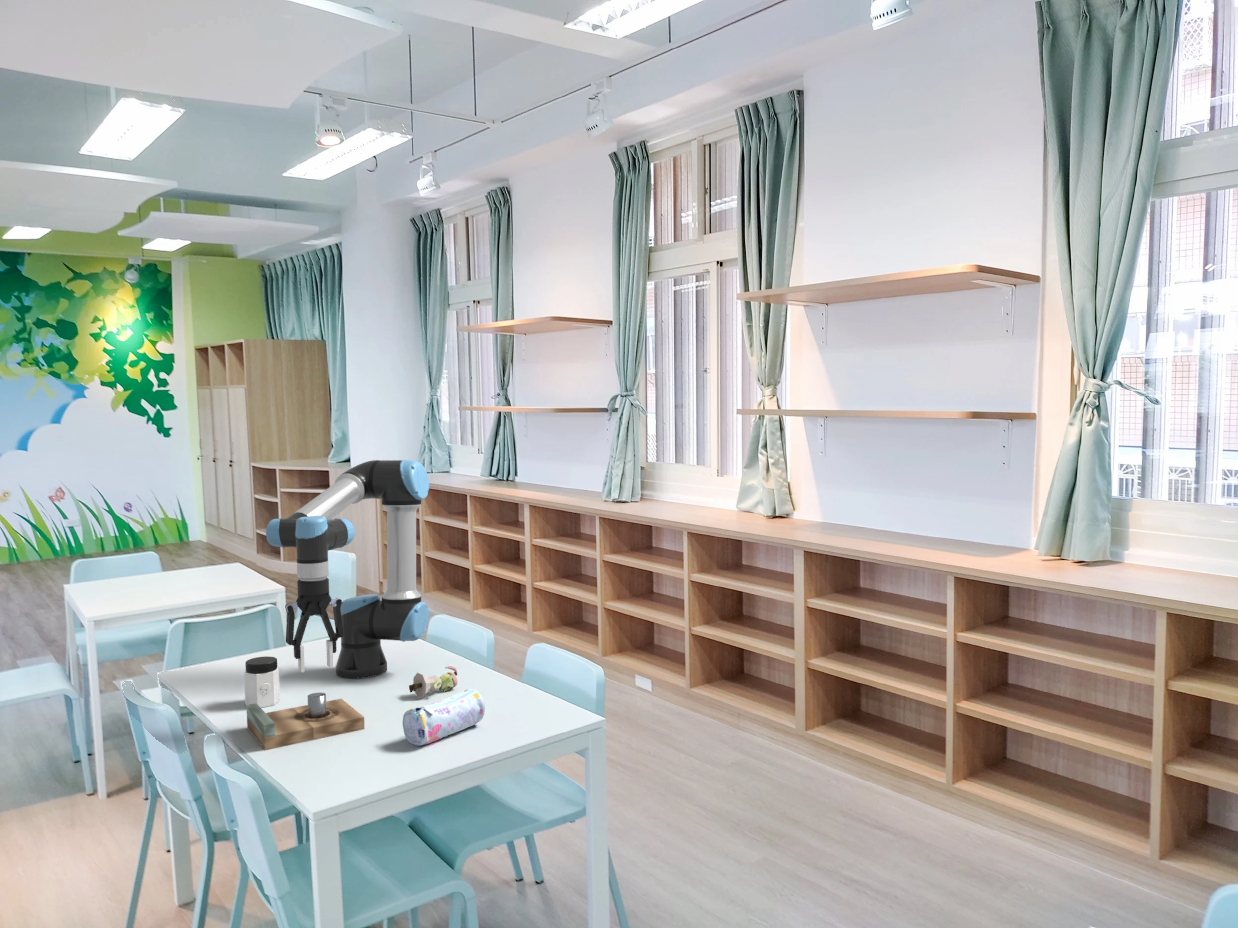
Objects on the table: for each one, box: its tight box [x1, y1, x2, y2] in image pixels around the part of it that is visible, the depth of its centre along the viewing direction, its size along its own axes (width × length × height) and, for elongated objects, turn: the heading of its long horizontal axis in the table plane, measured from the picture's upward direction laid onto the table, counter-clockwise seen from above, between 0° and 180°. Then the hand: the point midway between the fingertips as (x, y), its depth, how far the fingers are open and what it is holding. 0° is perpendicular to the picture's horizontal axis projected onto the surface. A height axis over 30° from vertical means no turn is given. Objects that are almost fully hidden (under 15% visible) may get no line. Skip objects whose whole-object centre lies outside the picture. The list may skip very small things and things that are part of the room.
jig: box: [246, 698, 365, 751], centre depth 230 cm, size 24×18×6 cm
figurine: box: [408, 665, 459, 699], centre depth 257 cm, size 9×7×15 cm
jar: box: [243, 655, 281, 709], centre depth 249 cm, size 9×8×12 cm
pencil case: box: [402, 688, 486, 747], centre depth 225 cm, size 21×9×10 cm, turn 140°
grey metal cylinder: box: [307, 692, 327, 719], centre depth 231 cm, size 4×4×8 cm
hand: (315, 668), depth 231 cm, fingers open, 6 cm apart
